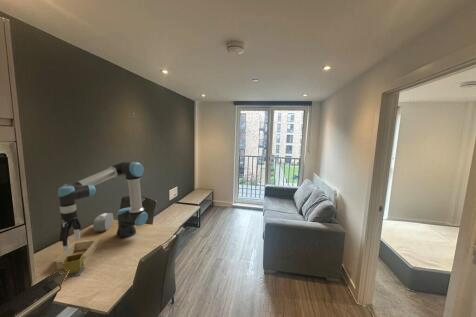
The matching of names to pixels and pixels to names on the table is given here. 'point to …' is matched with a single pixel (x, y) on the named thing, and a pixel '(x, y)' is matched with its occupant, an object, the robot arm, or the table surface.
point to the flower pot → (73, 263)
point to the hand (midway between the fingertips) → (72, 244)
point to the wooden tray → (78, 245)
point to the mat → (77, 272)
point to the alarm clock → (103, 222)
